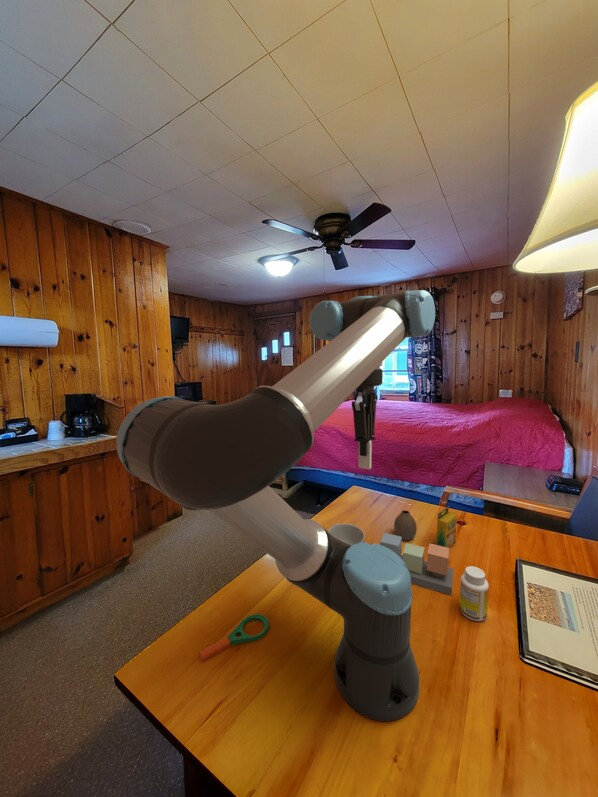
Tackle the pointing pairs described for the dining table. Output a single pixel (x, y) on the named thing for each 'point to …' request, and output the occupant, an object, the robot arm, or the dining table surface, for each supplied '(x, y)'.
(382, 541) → the button slate
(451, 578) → the button board
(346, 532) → the teacup
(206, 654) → the magnifying glass
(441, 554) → the button terracotta
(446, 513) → the crayon box
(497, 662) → the dining table surface
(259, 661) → the dining table surface
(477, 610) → the supplement bottle
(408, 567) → the button sage
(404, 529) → the vase
